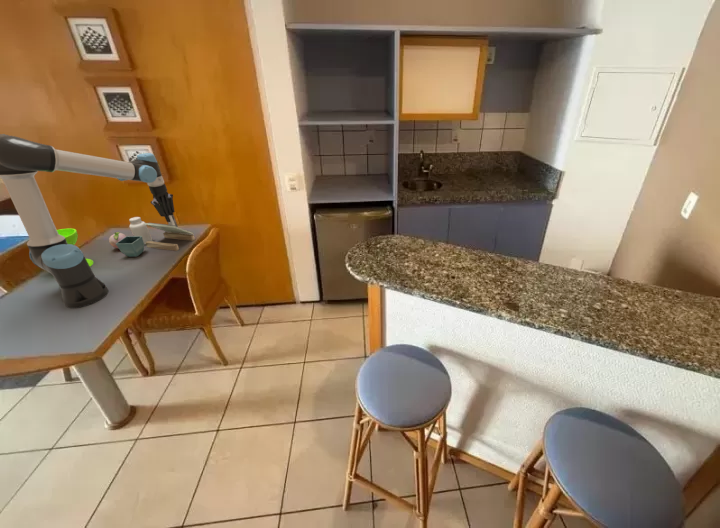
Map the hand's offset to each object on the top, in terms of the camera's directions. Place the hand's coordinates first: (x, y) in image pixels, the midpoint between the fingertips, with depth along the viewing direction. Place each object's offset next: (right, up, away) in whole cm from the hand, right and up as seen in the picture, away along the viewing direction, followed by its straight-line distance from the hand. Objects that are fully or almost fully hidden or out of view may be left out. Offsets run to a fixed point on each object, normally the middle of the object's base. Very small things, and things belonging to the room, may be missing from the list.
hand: (172, 226), depth 171 cm
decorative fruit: (-29, -13, +1) cm, 32 cm away
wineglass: (-41, -23, -15) cm, 49 cm away
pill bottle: (-20, -9, +7) cm, 23 cm away
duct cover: (-3, -1, +3) cm, 5 cm away
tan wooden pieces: (-3, -8, +8) cm, 11 cm away
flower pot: (-17, -16, -5) cm, 24 cm away
